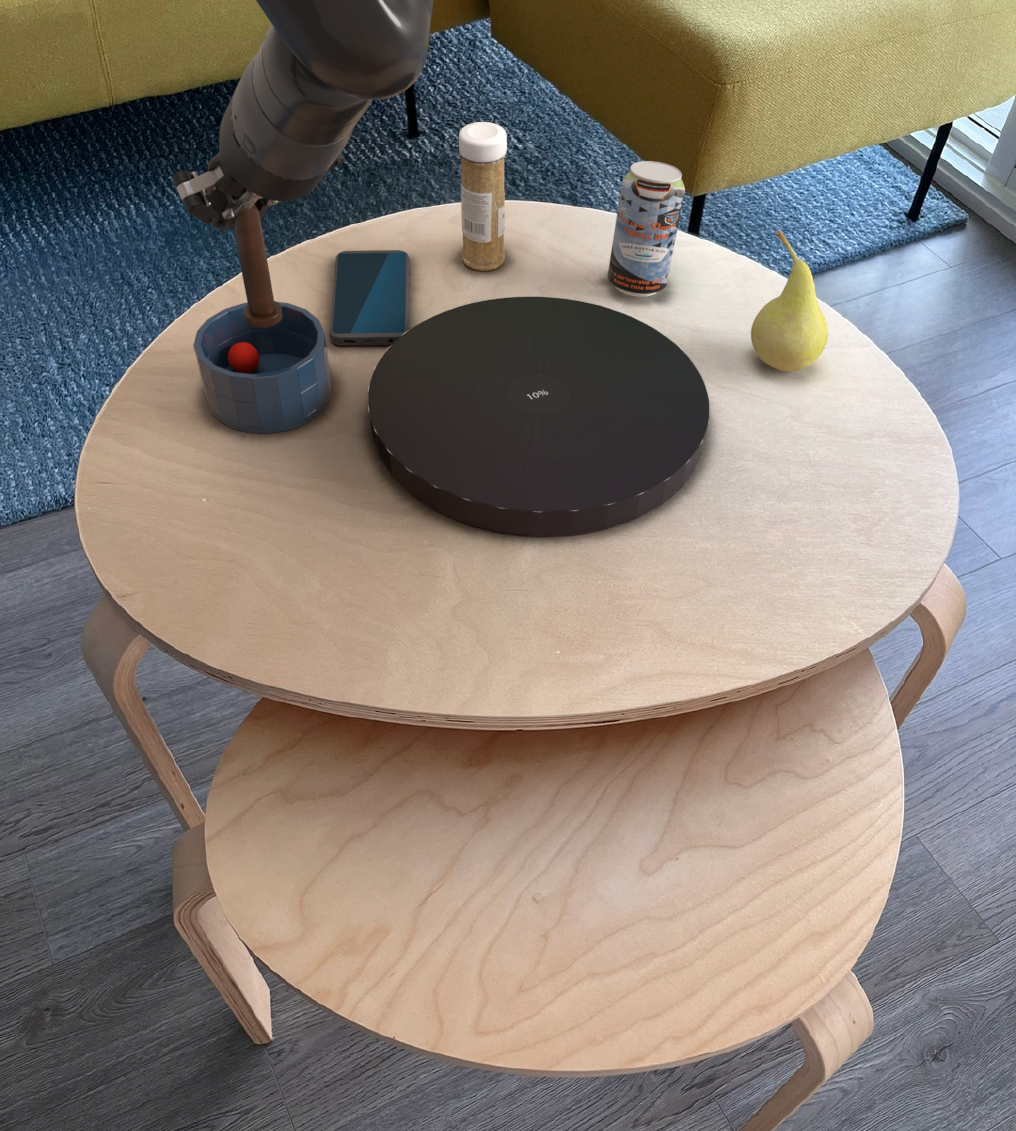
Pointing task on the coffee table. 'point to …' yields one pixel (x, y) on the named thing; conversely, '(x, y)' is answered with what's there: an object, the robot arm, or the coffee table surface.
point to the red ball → (243, 357)
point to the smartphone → (370, 297)
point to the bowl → (265, 370)
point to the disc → (538, 415)
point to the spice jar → (483, 194)
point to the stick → (255, 270)
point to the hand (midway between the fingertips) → (234, 213)
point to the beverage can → (646, 228)
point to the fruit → (791, 322)
